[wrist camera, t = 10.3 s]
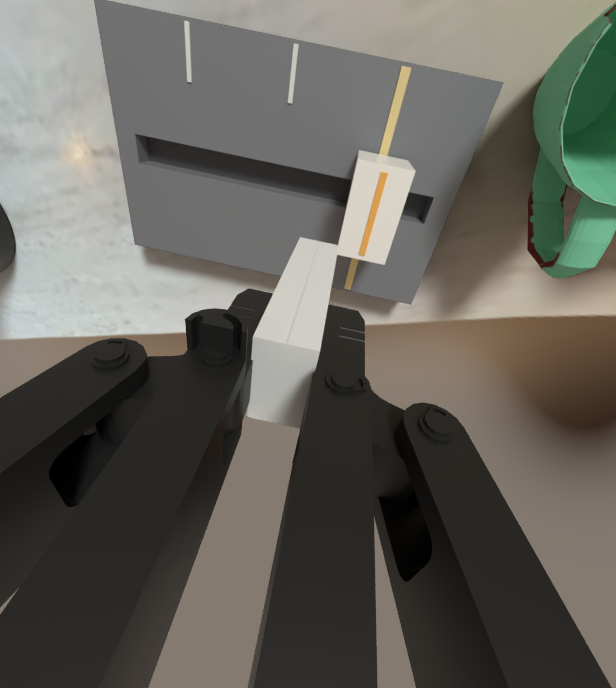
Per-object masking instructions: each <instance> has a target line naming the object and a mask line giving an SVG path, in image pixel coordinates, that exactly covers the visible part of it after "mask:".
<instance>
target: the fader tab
mask: <svg viewBox="0 0 616 688" xmlns="http://www.w3.org/2000/svg"><path fill="white" fill-rule="evenodd" d="M415 172H416V171H415V169H414V168H413V167H412V165H411V164H410V163H409V161H408V160H404V159H399V158H395V157H390V156H385V155H380V154H376V153H371V152H366V151H361V150H359V152H358V157H357V161H356V166H355V170H354V174H353V179H352V183H351V188H350V192H349V196H348V201H347V205H346V210H345V214H344V219H343V223H342V227H341V232H340V237H339V242H338V245H339V247H338V253H337V255H341V256H346V257H350V258H355V259H359V260H364V261H369V262H373V263H378V264H383V265H385V262H386V259H387V256H388V253H389V250H390V247H391V244H392V241H393V238H394V235H395V232H396V229H397V226H398V223H399V220H400V217H401V214H402V211H403V208H404V205H405V202H406V199H407V196H408V193H409V190H410V187H411V184H412V181H413V178H414V175H415Z"/></svg>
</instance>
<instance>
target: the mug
mask: <svg viewBox="0 0 616 688" xmlns="http://www.w3.org/2000/svg"><path fill="white" fill-rule="evenodd" d="M533 124H534V131H535V135H536V138H537V141H538V143H539V145H540V147H541V148H540V152H539V156H538V161H537V165H536V169H535V174H534V178H533V182H532V186H531V191H530V195H529V199H528V251H529V253H530V254H531V255H532V256H533V258H534V259H535V260H536V262H537V263H538V264H539V266H540V267H541V268H542V269H543V270H544V271H545V272H546V273H547V274H548V275H550V276H551V277H554V278H566V277H571V276H573V275H576V274H578V273H581V272H584V271H586V270H589V269H591V268H594V267H595V266H596V265H597V264H598V262H599V260H600V259H601V257H602V255H603V254H604V252H605V250H606V249H607V247H608V245H609V243H610V242H611V240H612V237H613V235H614V233H615V231H616V2H615V3H614V4H613V5H612V6H610V7H609V8H608V9H607V10H605V11H604V12H603V13H602V14H601V15H600V16H599V17H597V18H596V19H595V20H594V21H593V22H592V23H591V24H590V25H588V26H587V27H586V28H585V29H584V30H583V31H582V32H581V33H579V34H578V35H577V36H576V37H575V38H574V39H573V40H572V41H571V42H570V43H569V44H568V46H567V47H566V48H565V49H564V50H563V51H562V53H561V54H560V55H559V57H558V58H557V59H556V60H555V62H554V63H553V64H552V66H551V67H550V68H549V69H548V71H547V73H546V75H545V77H544V79H543V81H542V83H541V85H540V87H539V89H538V91H537V93H536V98H535V102H534V107H533ZM567 184H568V185H569V186H570V187H572V188H573V189H574V190H576V191H577V192H578V193H579V194H581V195H582V196H581V198H580V201H579V203H578V206H577V209H576V211H575V214H574V217H573V219H572V222H571V225H570V227H569V230H568V233H567V235H566V238H565V239H564V220H563V200H564V196H565V192H566V188H567Z"/></svg>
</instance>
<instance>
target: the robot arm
mask: <svg viewBox="0 0 616 688" xmlns="http://www.w3.org/2000/svg"><path fill="white" fill-rule="evenodd" d="M338 247H339V245H335V244H330V243H326V242H321V241H316V240H312V239H307V238H302V237H300V238H299V240H298V243H297V245H296V247H295V249H294V251H293V253H292V255H291V257H290V259H289V262H288V264H287V266H286V268H285V270H284V272H283V274H282V276H281V278H280V281H279V283H278V285H277V287H276V289H275V291H274V293H273V294H272V293H267V292H263V291H258V290H253V289H247V290H245V291H244V292H242V293H240V294H238V295H237V296H236V298H235V299H234V301H233V302H232V304H231V306H230V307H229V308H228V310H225V309H205V310H201V311H198V312H195V313H192V314H191V315H190V316H189V317H187V318H186V319H185V323H186V336H187V348H188V350H187V351H186V353H185V354H184V355H180V356H159V357H158V356H152V357H151V356H150V357H147V354H146V351H145V349H144V347H143V346H142V345H141V344H139V343H138V342H136V341H133V340H129V339H125V338H123V339H122V338H118V339H115V338H113V339H112V338H111V339H107V340H102V341H98V342H95V343H93V344H91V345H89V346H86V347H85V348H83V349H81V350H79V351H78V352H76V353H74V354H73V355H71V356H69V357H68V358H66V359H64V360H63V361H61V362H59V363H58V364H56V365H54V366H53V367H51V368H50V369H48V370H46V371H44V372H43V373H41V374H39V375H38V376H36V377H34V378H33V379H31V380H29V381H28V382H26V383H25V384H23V385H21V386H19V387H18V388H16V389H14V390H13V391H11V392H10V393H8V394H6V395H4V396H3V397H1V398H0V607H1V606H2V605H3V604H4V603H5V602H6V601H7V599H9V597H10V596H11V595H12V594H13V593H14V592H15V591H16V590H17V589H18V588H19V589H18V590H17V592H16V593H15V595H14V596H13V598H12V599H11V600H10V602H9V603H8V604H7V606H6V607H5V609H4V610H3V612H2V613H1V614H0V688H148V687H149V684H150V681H151V678H152V676H153V673H154V670H155V667H156V665H157V662H158V659H159V656H160V654H161V651H162V648H163V646H164V643H165V640H166V638H167V635H168V632H169V629H170V626H171V624H172V621H173V618H174V616H175V613H176V610H177V608H178V605H179V602H180V599H181V597H182V594H183V591H184V588H185V586H186V583H187V580H188V577H189V575H190V572H191V569H192V566H193V564H194V561H195V558H196V556H197V553H198V550H199V548H200V545H201V542H202V539H203V537H204V534H205V531H206V529H207V526H208V523H209V520H210V518H211V515H212V512H213V509H214V507H215V504H216V501H217V499H218V496H219V493H220V490H221V487H222V485H223V482H224V479H225V477H226V474H227V471H228V469H229V466H230V463H231V460H232V458H233V455H234V452H235V449H236V447H237V444H238V441H239V439H240V436H241V431H242V420H243V417H244V415H245V412H246V409H247V417H250V418H255V419H259V420H264V421H268V422H273V423H277V424H282V425H286V426H291V427H295V428H300V433H299V437H298V441H297V445H296V450H295V454H294V458H293V462H292V463H293V465H292V471H291V475H290V480H289V485H288V490H287V495H286V500H285V505H284V510H283V515H282V520H281V525H280V530H279V535H278V540H277V545H276V550H275V555H274V560H273V565H272V570H271V575H270V580H269V585H268V590H267V595H266V600H265V605H264V609H263V615H262V619H261V625H260V629H259V634H258V639H257V645H256V649H255V654H254V660H253V664H252V670H251V674H250V680H249V684H248V688H377V650H376V649H377V646H376V600H375V549H374V517H375V521H376V525H377V529H378V534H379V537H380V542H381V546H382V550H383V554H384V558H385V562H386V566H387V570H388V574H389V578H390V583H391V586H392V591H393V594H394V599H395V602H396V606H397V611H398V615H399V619H400V623H401V627H402V631H403V636H404V640H405V644H406V648H407V652H408V656H409V660H410V664H411V668H412V672H413V676H414V681H415V685H416V688H611V686H610V684H609V682H608V681H607V679H606V677H605V675H604V673H603V672H602V670H601V668H600V667H599V665H598V663H597V661H596V659H595V658H594V656H593V654H592V652H591V651H590V649H589V647H588V645H587V644H586V642H585V640H584V638H583V636H582V635H581V633H580V631H579V629H578V628H577V626H576V624H575V622H574V621H573V619H572V617H571V615H570V614H569V612H568V610H567V608H566V607H565V605H564V603H563V601H562V599H561V598H560V596H559V594H558V592H557V591H556V589H555V587H554V586H553V584H552V582H551V580H550V578H549V577H548V575H547V573H546V571H545V569H544V568H543V566H542V564H541V562H540V561H539V559H538V557H537V555H536V554H535V552H534V550H533V548H532V547H531V545H530V543H529V541H528V540H527V538H526V536H525V534H524V532H523V531H522V529H521V527H520V525H519V524H518V522H517V520H516V518H515V517H514V515H513V513H512V511H511V510H510V508H509V506H508V504H507V502H506V501H505V499H504V497H503V496H502V494H501V492H500V490H499V488H498V487H497V485H496V483H495V482H494V480H493V478H492V476H491V474H490V472H489V471H488V469H487V467H486V466H485V464H484V462H483V460H482V458H481V457H480V455H479V453H478V451H477V450H476V448H475V446H474V444H473V443H472V441H471V439H470V437H469V435H468V434H467V432H466V430H465V428H464V427H463V426H462V425H461V423H460V422H459V421H458V419H457V418H456V417H454V416H453V415H452V414H450V413H449V412H448V411H447V410H445V409H443V408H440V407H438V406H436V405H433V404H428V403H417V404H413V405H411V406H410V407H408V408H407V409H406V410H403V409H401V408H398V407H396V406H394V405H392V404H390V403H388V402H386V401H385V400H383V399H381V398H380V397H379V396H377V395H376V394H375V393H374V392H373V391H372V390H371V387H370V383H369V381H368V379H367V378H366V377H365V343H364V341H365V334H364V331H365V321H364V319H363V318H362V316H361V315H360V313H359V311H356V310H351V309H347V308H342V307H337V306H333V305H328V303H329V298H330V292H331V287H332V281H333V275H334V270H335V264H336V258H337V253H338ZM13 255H14V239H13V234H12V230H11V227H10V224H9V222H8V219H7V217H6V215H5V213H4V211H3V209H2V207H1V206H0V272H1V271H3V270H4V269H6V268H7V267H8V266H9V264H10V263H11V261H12V258H13ZM247 407H248V408H247Z"/></svg>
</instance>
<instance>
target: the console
mask: <svg viewBox="0 0 616 688" xmlns="http://www.w3.org/2000/svg"><path fill="white" fill-rule="evenodd" d="M94 3H95V9H96V15H97V21H98V27H99V33H100V39H101V45H102V51H103V57H104V63H105V69H106V75H107V81H108V86H109V92H110V98H111V104H112V110H113V116H114V122H115V128H116V134H117V140H118V146H119V152H120V158H121V164H122V170H123V176H124V182H125V188H126V194H127V200H128V206H129V212H130V218H131V224H132V230H133V236H134V242H135V245H139V246H144V247H149V248H153V249H158V250H162V251H167V252H172V253H176V254H181V255H185V256H190V257H195V258H199V259H204V260H208V261H213V262H218V263H222V264H227V265H231V266H236V267H241V268H245V269H250V270H254V271H259V272H264V273H268V274H273V275H277V276H282V274H283V272H284V270H285V268H286V266H287V264H288V262H289V259H290V257H291V255H292V253H293V251H294V249H295V247H296V245H297V243H298V240H299V238H300V237H302V238H307V239H312V240H316V241H321V242H326V243H330V244H335V245H338V242H339V237H340V232H341V227H342V223H343V219H344V214H345V210H346V205H347V201H348V196H349V192H350V188H351V183H352V179H353V174H354V170H355V166H356V161H357V157H358V152H359V150H361V151H366V152H371V153H376V154H380V155H385V156H390V157H395V158H399V159H404V160H408V161H409V163H410V164H411V165H412V167H413V168H414V169H415V171H416V172H415V175H414V178H413V181H412V184H411V187H410V190H409V193H408V196H407V199H406V202H405V205H404V208H403V211H402V214H401V217H400V220H399V223H398V226H397V229H396V232H395V235H394V238H393V241H392V244H391V247H390V250H389V253H388V256H387V259H386V262H385V265H383V264H378V263H373V262H369V261H364V260H359V259H355V258H350V257H346V256H341V255H337V258H336V264H335V270H334V275H333V281H332V287H333V288H337V289H342V290H346V291H351V292H356V293H360V294H365V295H369V296H374V297H379V298H383V299H388V300H392V301H397V302H402V303H406V304H411V303H412V301H413V299H414V296H415V294H416V291H417V289H418V287H419V284H420V282H421V279H422V277H423V275H424V272H425V270H426V267H427V265H428V263H429V260H430V258H431V255H432V253H433V251H434V248H435V246H436V243H437V241H438V239H439V236H440V234H441V231H442V229H443V227H444V224H445V222H446V219H447V217H448V215H449V212H450V210H451V207H452V205H453V203H454V200H455V198H456V195H457V193H458V191H459V188H460V186H461V183H462V181H463V179H464V176H465V174H466V172H467V169H468V167H469V164H470V162H471V160H472V157H473V155H474V152H475V150H476V148H477V145H478V143H479V140H480V138H481V136H482V133H483V131H484V128H485V126H486V124H487V121H488V119H489V116H490V114H491V112H492V109H493V107H494V104H495V102H496V100H497V97H498V95H499V92H500V90H501V88H502V85H503V82H498V81H494V80H489V79H484V78H479V77H474V76H469V75H465V74H460V73H455V72H450V71H445V70H440V69H436V68H431V67H426V66H421V65H416V64H412V63H407V62H402V61H397V60H392V59H387V58H383V57H378V56H373V55H368V54H363V53H358V52H354V51H349V50H344V49H339V48H334V47H329V46H325V45H320V44H315V43H310V42H305V41H300V40H296V39H291V38H286V37H281V36H276V35H271V34H267V33H262V32H257V31H252V30H247V29H242V28H238V27H233V26H228V25H223V24H218V23H214V22H209V21H204V20H199V19H194V18H189V17H185V16H180V15H175V14H170V13H165V12H160V11H156V10H151V9H146V8H141V7H136V6H131V5H127V4H122V3H117V2H112V1H107V0H94Z"/></svg>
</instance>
